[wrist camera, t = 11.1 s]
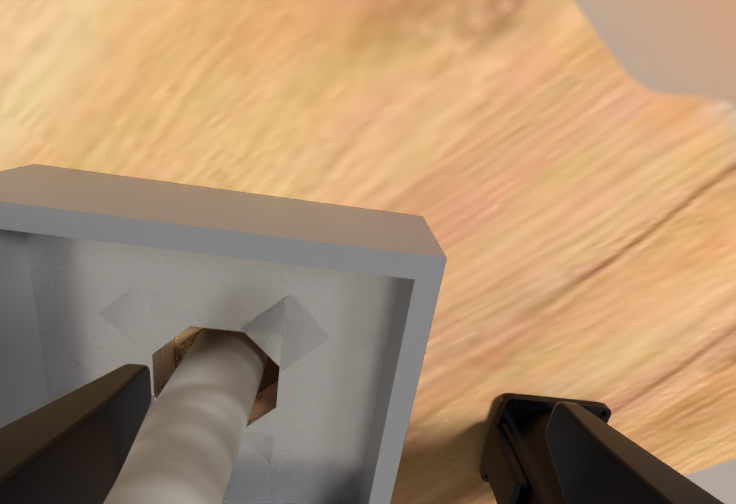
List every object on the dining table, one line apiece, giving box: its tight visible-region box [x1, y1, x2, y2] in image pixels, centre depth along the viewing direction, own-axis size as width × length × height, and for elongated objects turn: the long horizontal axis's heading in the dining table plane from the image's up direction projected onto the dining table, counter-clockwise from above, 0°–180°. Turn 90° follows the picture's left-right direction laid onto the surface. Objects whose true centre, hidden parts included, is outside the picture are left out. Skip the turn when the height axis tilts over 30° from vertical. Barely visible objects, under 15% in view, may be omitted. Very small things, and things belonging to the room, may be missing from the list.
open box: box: [0, 164, 447, 504], centre depth 20 cm, size 18×18×6 cm
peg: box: [103, 328, 268, 504], centre depth 18 cm, size 4×4×10 cm
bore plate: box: [24, 232, 400, 504], centre depth 21 cm, size 16×16×2 cm
